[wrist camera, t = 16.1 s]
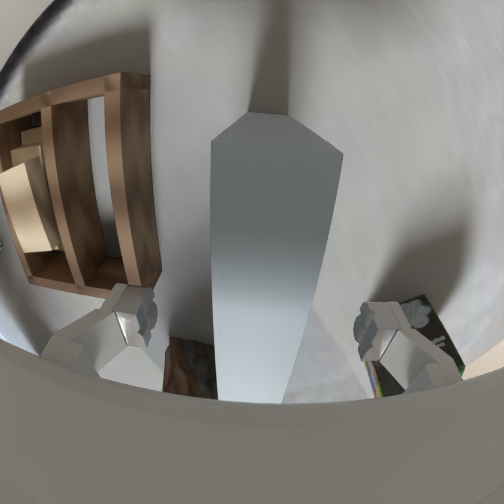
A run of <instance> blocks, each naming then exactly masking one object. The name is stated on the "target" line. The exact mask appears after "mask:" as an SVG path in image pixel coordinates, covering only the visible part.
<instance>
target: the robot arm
mask: <svg viewBox="0 0 504 504" xmlns="http://www.w3.org/2000/svg"><path fill="white" fill-rule="evenodd" d="M154 296H155V295H154V291H153V289H152V288H150V287H143V286H136V285H130V284H129V285H128V284H122V283H117V284H115V285H114V287H113V289H112V290H111V292H110V293H109V295H108V296H107V298H106V300H105V301H104V303H103V305H102V306H101V308H100V309H95V310H94V311H92V312H90V313H88V314H87V315H85V316H83V317H82V318H80V319H78V320H76V321H75V322H73V323H71V324H70V325H68V326H66V327H64V328H63V329H61V330H59V331H58V332H56V333H54V334H53V335H52V336H51V338H50V340H49V341H48V343H47V345H46V346H45V348H44V350H43V351H42V353H41V355H40V357H39V356H37V355H35V354H32V353H30V352H28V351H25V350H23V349H21V348H19V347H16V346H14V345H12V344H10V343H8V342H6V341H4V340H2V339H0V504H504V367H503V368H500V369H497V370H495V371H492V372H489V373H486V374H483V375H480V376H477V377H474V378H470V379H467V380H463V379H462V377H461V375H460V373H459V370H458V368H457V366H456V364H455V362H454V360H453V358H451V357H450V356H449V355H448V354H446V353H445V352H444V351H443V350H441V349H440V348H439V347H437V346H436V345H435V344H434V343H432V342H431V341H430V340H428V339H427V338H426V337H424V336H423V335H422V334H421V333H419V332H418V331H417V330H415V329H411V326H410V324H409V322H408V320H407V318H406V316H405V314H404V312H403V311H402V309H401V307H400V305H399V303H398V302H364V303H363V304H362V305H361V308H360V311H361V314H360V315H359V316H358V317H356V320H355V323H354V329H353V331H354V337H355V340H356V341H357V342H358V343H359V344H360V345H359V347H358V351H359V355H360V358H361V361H378V360H380V362H381V364H382V365H383V366H384V367H385V368H386V369H387V370H388V371H389V372H390V374H391V375H392V376H393V377H394V378H395V379H396V380H397V381H398V382H399V384H400V385H401V386H402V387H403V388H404V389H405V391H404V393H403V394H401V395H395V396H388V397H381V398H373V399H365V400H355V401H343V402H328V403H298V404H282V403H251V402H236V401H225V400H215V399H206V398H198V397H191V396H184V395H177V394H171V393H166V392H160V391H155V390H150V389H145V388H141V387H136V386H132V385H127V384H123V383H119V382H115V381H112V380H108V379H104V378H101V377H100V376H99V374H98V371H99V370H100V369H101V368H103V367H104V366H105V365H106V364H107V363H108V362H109V361H111V360H112V359H113V358H114V357H115V356H116V355H118V354H119V353H120V352H121V351H122V350H123V349H125V348H126V347H127V345H129V346H135V347H141V348H147V346H148V343H149V340H150V338H151V333H150V330H151V329H153V328H154V327H155V324H156V322H157V315H158V313H157V305H156V304H155V302H154V301H153V298H154Z"/></svg>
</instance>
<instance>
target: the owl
mask: <svg viewBox="0 0 504 504" xmlns="http://www.w3.org/2000/svg"><path fill="white" fill-rule="evenodd" d="M169 339H170V344H169V346H168V348H167V349H166V352H165V369H164V380H163V391H162V392H166V393H171V394H177V395H184V396H191V397H198V398H206V399H215V400H218V390H217V376H216V362H215V346H213V345H206V344H203V343H201V342H198V341H194V340H183V339H179V338H174V337H170V338H169Z"/></svg>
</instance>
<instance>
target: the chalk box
mask: <svg viewBox="0 0 504 504" xmlns="http://www.w3.org/2000/svg"><path fill="white" fill-rule="evenodd" d="M400 307H401V309H402V311H403V312H404V314H405V316H406V318H407V320H408V322H409V324H410V326H411V329H415V330H417V331H418V332H419V333H421V334H422V335H423V336H424V337H426V338H427V339H428V340H430V341H431V342H432V343H434V344H435V345H436V346H437V347H439V348H440V349H441V350H443V351H444V352H445V353H446V354H448V355H449V356H450V357H451V358H453V360H454V362H455V364H456V366H457V368H458V370H459V373H460V375H461V376H462V374H463V372H464V369H465V365H464V363H463V361H462V359H461V357H460V355H459V353H458V351H457V349H456V347H455V346H454V344H453V342H452V340H451V338H450V336H449V335H448V333H447V331H446V329H445V328H444V326H443V324H442V322H441V321H440V319H439V317H438V316H437V314H436V312H435V311H434V309H433V307H432V306H431V304H430V303H429V301H428V300H427V298H426V297H425V295H423V296H421V297H418V298H416V299H413V300H411V301H408V302H405V303H403V304H400ZM364 362H365V366H366V369H367V372H368V376H369V379H370V383H371V387H372V390H373V394H374V398H381V397H388V396H395V395H401V394H403V393H404V391H405V389H404V388H403V387H402V386H401V385H400V384H399V382H398V381H397V380H396V379H395V378H394V377H393V376H392V375H391V374H390V372H389V371H388V370H387V369H386V368H385V367H384V366H383V365H382V364H381V362H380V360H378V361H364Z"/></svg>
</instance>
